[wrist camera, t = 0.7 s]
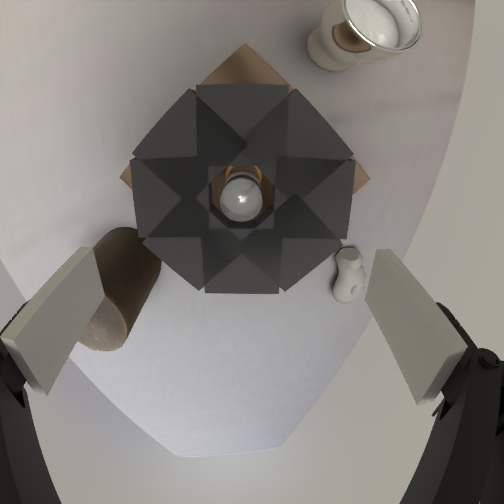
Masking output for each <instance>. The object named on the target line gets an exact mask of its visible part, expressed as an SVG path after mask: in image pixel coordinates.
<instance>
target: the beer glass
mask: <svg viewBox="0 0 504 504" xmlns="http://www.w3.org/2000/svg"><path fill="white" fill-rule="evenodd" d="M422 33H423V23H422V18H421V15H420V12H419V10H418V8H417V6H416V5H415V3H414V2H413V0H331V1H330V3H329V4H328V6H327V7H326V9H325V10H324V13H323V15H322V18H321V22H320V27H318V28H316V29H315V30H313V31H312V32H311V33H310V35H309V37H308V39H307V51H308V54H309V56H310V57H311V59H312V60H313V61H314V62H315V63H316V64H317V65H318V66H320V67H321V68H323V69H326V70H329V71H343V70H346V69H348V68H349V67H351V66H352V65H353V64H371V63H377V62H381V61H385V60H387V59H390V58H393V57H395V56H397V55H399V54H401V53H403V52H406V51H409V50H411V49H412V48H414V47H415V46H416V45H417V44H418V43H419V41H420V39H421V37H422Z"/></svg>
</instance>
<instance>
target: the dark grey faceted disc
mask: <svg viewBox="0 0 504 504" xmlns="http://www.w3.org/2000/svg"><path fill="white" fill-rule="evenodd" d="M132 154H133V155H134V156H135V157H136V158H134V159H132V160H130V169H131V180H132V190H133V199H134V207H135V215H136V222H137V230H138V236H139V238H140V237H146V239H145V240H144V241H143V243H142V244H143V245H144V246H146V247H147V248H148V249H149V250H150V251H151V252H153V253H154V254H155V255H156V256H157V257H158V258H160V259H161V260H162V261H163V262H164V263H166V264H167V265H168V266H169V267H170V268H172V269H173V270H174V271H175V272H176V273H178V274H179V275H180V276H181V277H183V278H184V279H185V280H186V281H187V282H189V283H190V284H191V285H192V286H194V287H195V288H196V289H197V290H200V289H201V288H203V287H205V293H233V294H279V287H280V288H281V289H283V290H284V291H286V290H288V289H289V288H290V287H292V286H293V285H294V284H295V283H297V282H298V281H299V280H300V279H302V278H303V277H304V276H305V275H307V274H308V273H309V272H310V271H312V270H313V269H314V268H315V267H317V266H318V265H319V264H320V263H322V262H323V261H324V260H325V259H327V258H328V257H329V256H330V255H331V254H333V253H334V252H335V251H336V250H338V249H339V248H340V247H341V246H342V245H343V244H342V243H341V241H340V240H339V239H346V238H347V231H348V225H349V217H350V210H351V202H352V194H353V185H354V176H355V166H356V161H354V160H352V159H351V158H350V157H351V156H352V155H354V154H353V152H352V151H351V150H350V149H349V148H348V146H347V145H346V144H345V143H344V141H343V140H342V139H341V138H340V137H339V135H338V134H337V133H336V132H335V131H334V129H333V128H332V127H331V126H330V125H329V124H328V122H327V121H326V120H325V119H324V118H323V117H322V116H321V115H320V113H319V112H318V111H317V110H316V109H315V108H314V107H313V106H312V105H311V104H310V102H309V101H308V100H307V99H306V98H305V97H304V96H303V95H302V94H301V93H300V92H299V91H298V90H297V89H294V90H293V91H291V92H290V93H289V85H276V84H209V85H196V92H195V91H194V90H191V89H188V90H187V91H186V92H185V93H184V94H183V95H182V96H181V97H180V98H179V99H178V100H177V101H176V103H175V104H174V105H173V106H172V107H171V108H170V109H169V110H168V111H167V112H166V113H165V115H164V116H163V117H162V118H161V119H160V120H159V121H158V122H157V124H156V125H155V126H154V127H153V128H152V129H151V131H150V132H149V133H148V134H147V135H146V137H145V138H144V139H143V140H142V141H141V143H140V144H139V145H138V146H137V148H136V149H135V150H134V151H133V153H132ZM227 166H256V167H257V168H258V169H259V170H260V171H261V172H262V173H263V174H264V175H265V176H266V177H267V178H268V179H269V180H270V181H271V182H272V183H273V200H272V205H271V206H270V207H268V208H267V209H266V210H265V211H264V212H263V213H262V214H261V215H260V216H258V217H257V218H256V219H255V220H248V221H244V222H239V221H234V220H229V219H228V218H227V217H226V216H225V215H224V214H223V213H222V212H221V211H220V210H218V209H217V208H216V207H215V206H214V205H213V204H212V185H211V182H212V181H213V180H214V179H215V178H216V177H217V176H218V175H219V174H220V173H221V172H222V171H223V170H224V169H225V168H226V167H227Z"/></svg>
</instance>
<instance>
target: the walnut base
mask: <svg viewBox="0 0 504 504" xmlns="http://www.w3.org/2000/svg"><path fill="white" fill-rule="evenodd" d="M209 84H276V85H289V84H288V83H287V82H286V81H285V80H284V79H283V78H282V77H281V76H280V75H279V74H278V73H277V72H276V71H275V70H274V69H273V68H272V67H271V66H270V65H269V64H268V63H267V62H266V61H264V60H263V59H262V58H261V57H260V56H259V55H258V54H257V53H256V52H255V51H253V50H252V49H251V48H250V47H249V46H248V45H247V44H244V45H243V46H242V47H241V48H239V49H238V50H237V51H236V52H235V53H234V54H233V55H231V56H230V57H229V58H228V59H227V60H226V61H225V62H224V63H222V64H221V65H220V66H219V67H218V68H217V69H216V70H215V71H214V72H213V73H212V74H211V75H210V76H209V77H208V78H206V79H205V80H204V81H203V82H202V83H201V84H200V85H209ZM293 90H294V89H293V88H292V87H291V86H290V85H289V93H290V92H291V91H293ZM194 91H195V92H196V89H195V90H194ZM135 158H136V157H135ZM350 158H351V159H352V160H354V161H356V159H355V158H354V157H353V156H351V157H350ZM227 168H228V166H227V167H226V168H225V169H224V170H223V171H222V172H221V173H220V174H219V175H218V176H217V177H216V178H215V179H214V180H213V181H212V182H211V185H212V204H213V205H214V206H215V207H216V208H217V209H218V210H220V211H221V212H222V213H223V214H224V212H223V211H222V209H221V206H220V197H221V194H222V191H223V188H224V185H225V182H226V178H225V174H226V170H227ZM261 173H262V172H261ZM120 178H121V179H122V180H123V181H124V182H125V183H126V184H127V185H128V186H129V187H130V188H132V180H131V169H130V164H129V166H128V167H127V168H126V169H125V171H124V172H123V173H122V175H121V176H120ZM369 180H370V178H369V176H368V175H367V174H366V172H365V171H364V170H363V169H362V167H361V166H360V165H359V163H358V162H357V161H356V166H355V176H354V185H353V194H354V193H355V192H356V191H357V190H359V189H360V188H361V187H362V186H363V185H364V184H365V183H367V182H368V181H369ZM260 186H261V194H262V208H261V210H260V212H259V213H258V214H257V216H255V217H254V218H253V219H251V220H255V219H256V218H257V217H258V216H260V215H261V214H262V213H263V212H264V211H265V210H266V209H267V208H268V207H270V206H271V205H272V200H273V183H272V182H271V181H270V180H269V179H268V178H267V177H266V176H265V175H264V174H263V173H262V180H261V183H260ZM353 194H352V195H353ZM224 215H225V214H224ZM225 216H226V215H225ZM226 217H227V216H226ZM227 218H228V217H227ZM228 219H229V220H232V219H230V218H228Z"/></svg>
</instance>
